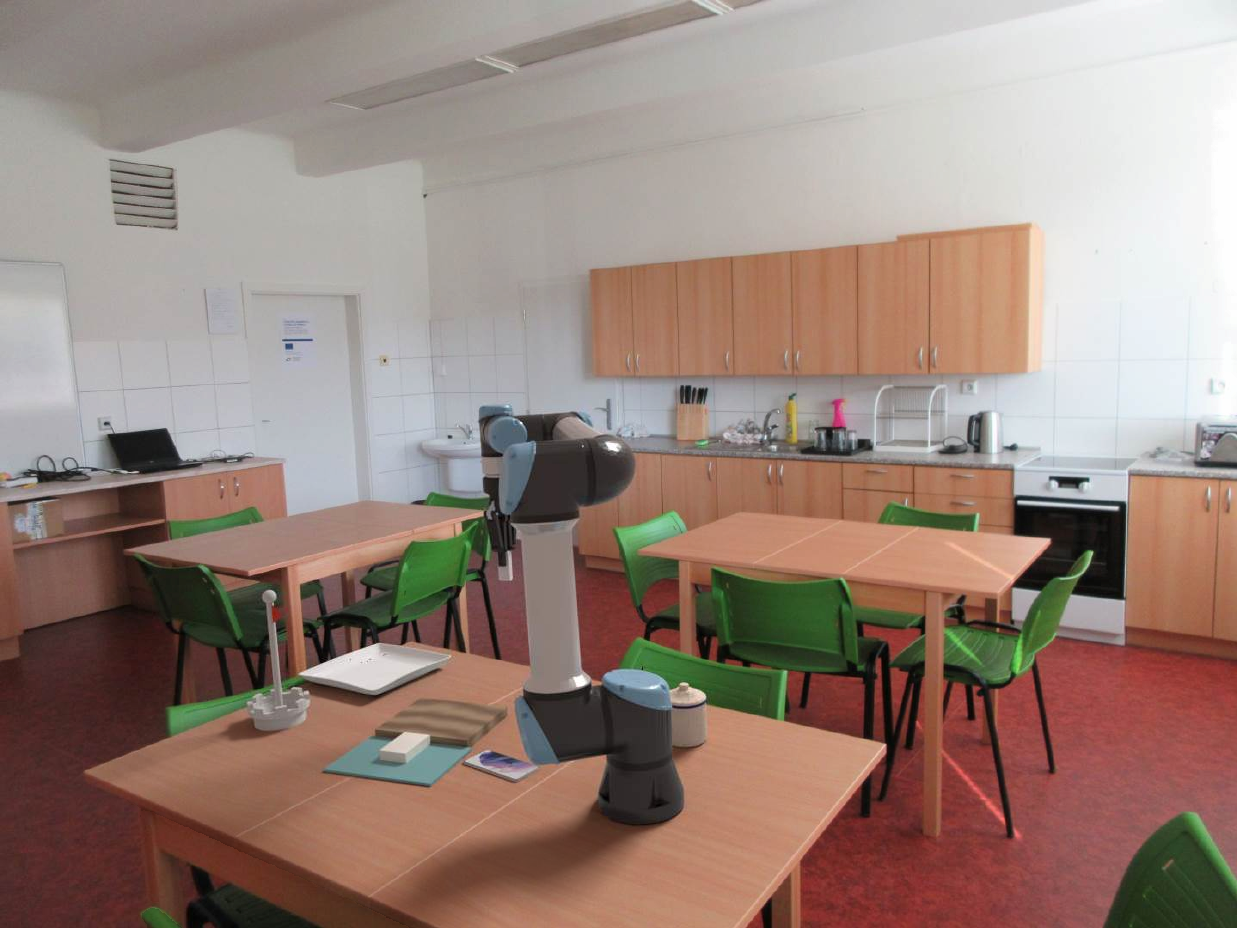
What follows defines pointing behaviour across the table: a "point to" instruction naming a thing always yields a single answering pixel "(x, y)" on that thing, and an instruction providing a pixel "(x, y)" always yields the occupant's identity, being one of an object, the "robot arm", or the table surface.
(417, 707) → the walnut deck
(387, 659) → the square plate
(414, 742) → the ceramic tile
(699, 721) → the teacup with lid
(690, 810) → the table surface
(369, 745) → the teal mat
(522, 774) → the smartphone
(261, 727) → the flag stand
